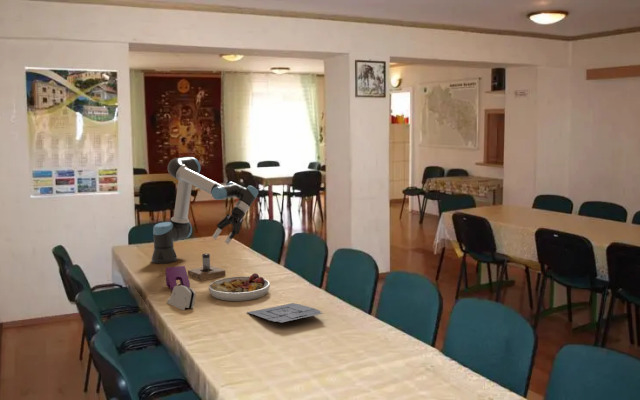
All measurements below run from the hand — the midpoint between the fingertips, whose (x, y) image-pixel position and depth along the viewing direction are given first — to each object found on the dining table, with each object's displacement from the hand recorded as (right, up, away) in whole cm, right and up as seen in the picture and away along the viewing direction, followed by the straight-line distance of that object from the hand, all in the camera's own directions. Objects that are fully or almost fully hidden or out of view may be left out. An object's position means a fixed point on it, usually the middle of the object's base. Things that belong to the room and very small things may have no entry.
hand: (219, 240), depth 331 cm
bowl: (+17, -24, -42) cm, 51 cm away
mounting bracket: (-16, -23, -31) cm, 42 cm away
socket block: (-6, -19, -6) cm, 21 cm away
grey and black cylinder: (-6, -19, -6) cm, 21 cm away
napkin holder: (-7, -26, -59) cm, 65 cm away
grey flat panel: (+42, -28, -77) cm, 92 cm away
